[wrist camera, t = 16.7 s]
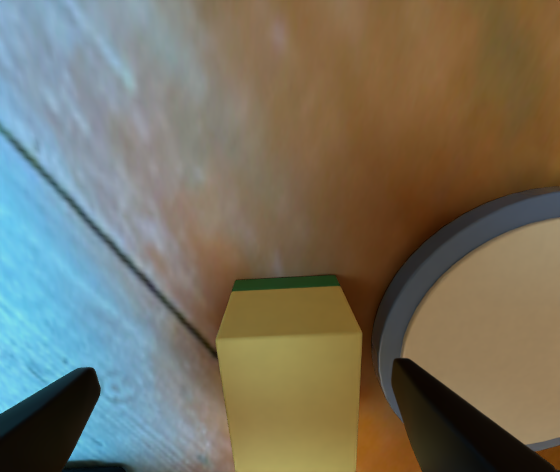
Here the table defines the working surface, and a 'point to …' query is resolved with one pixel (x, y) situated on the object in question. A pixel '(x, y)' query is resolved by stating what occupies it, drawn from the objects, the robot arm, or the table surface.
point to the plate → (484, 314)
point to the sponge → (291, 375)
